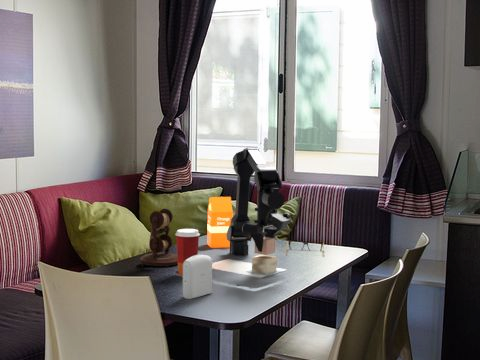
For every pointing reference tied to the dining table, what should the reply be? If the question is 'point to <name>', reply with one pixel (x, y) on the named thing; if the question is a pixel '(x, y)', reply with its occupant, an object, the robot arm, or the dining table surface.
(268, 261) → the birch block
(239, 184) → the robot arm
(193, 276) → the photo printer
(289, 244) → the eyeglasses
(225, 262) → the white board
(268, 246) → the terracotta block
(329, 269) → the dining table surface
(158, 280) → the dining table surface
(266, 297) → the dining table surface
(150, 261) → the wooden spool stand
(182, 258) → the coffee cup
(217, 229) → the orange juice
